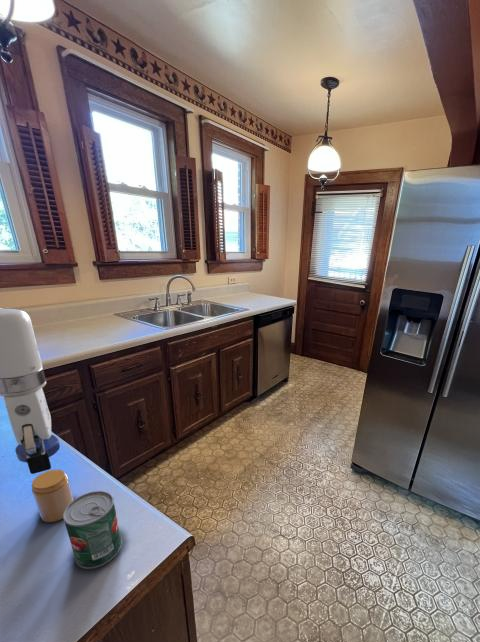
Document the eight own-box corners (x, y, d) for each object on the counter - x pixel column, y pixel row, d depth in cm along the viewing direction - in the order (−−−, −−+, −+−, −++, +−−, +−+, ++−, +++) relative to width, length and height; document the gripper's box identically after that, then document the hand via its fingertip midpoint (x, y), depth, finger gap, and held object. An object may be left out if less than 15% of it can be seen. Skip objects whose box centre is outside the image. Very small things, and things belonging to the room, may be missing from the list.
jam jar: (40, 527, 64) (29, 493, 60) (40, 506, 69) (30, 475, 65) (76, 514, 67) (67, 482, 64) (74, 495, 72) (65, 464, 68)
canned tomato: (65, 560, 58) (51, 516, 54) (100, 526, 65) (91, 485, 60) (97, 575, 55) (86, 531, 51) (131, 539, 62) (123, 497, 58)
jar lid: (13, 466, 58) (10, 459, 57) (21, 445, 63) (18, 438, 62) (57, 457, 61) (56, 450, 60) (61, 438, 66) (59, 431, 65)
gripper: (44, 395, 51) (65, 479, 58) (45, 360, 64) (62, 432, 71) (-17, 405, 47) (14, 494, 54) (-3, 366, 60) (21, 442, 67)
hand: (41, 459), depth 63 cm, fingers closed on jar lid, 6 cm apart
